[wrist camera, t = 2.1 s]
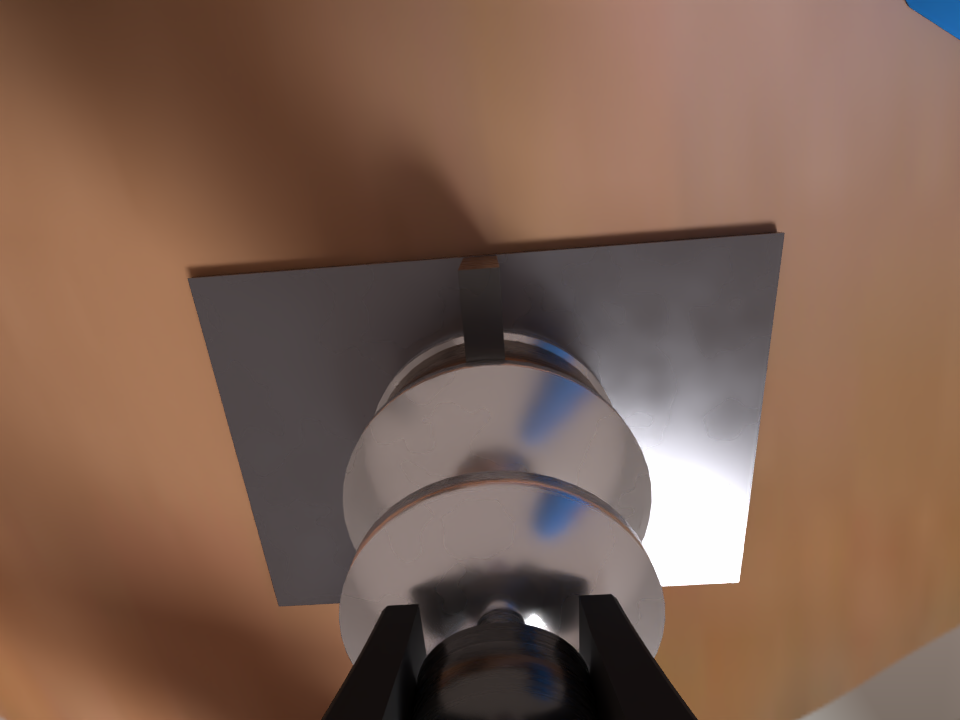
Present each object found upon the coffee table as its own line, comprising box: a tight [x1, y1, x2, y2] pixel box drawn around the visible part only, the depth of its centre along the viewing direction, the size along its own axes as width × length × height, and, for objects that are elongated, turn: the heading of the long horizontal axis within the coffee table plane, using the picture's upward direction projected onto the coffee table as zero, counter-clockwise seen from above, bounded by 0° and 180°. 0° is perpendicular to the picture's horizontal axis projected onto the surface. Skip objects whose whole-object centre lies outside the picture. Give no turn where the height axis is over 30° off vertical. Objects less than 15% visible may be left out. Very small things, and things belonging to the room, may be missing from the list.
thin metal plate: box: [188, 232, 784, 606], centre depth 14 cm, size 13×18×4 cm
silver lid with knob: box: [339, 470, 665, 720], centre depth 8 cm, size 6×6×3 cm
